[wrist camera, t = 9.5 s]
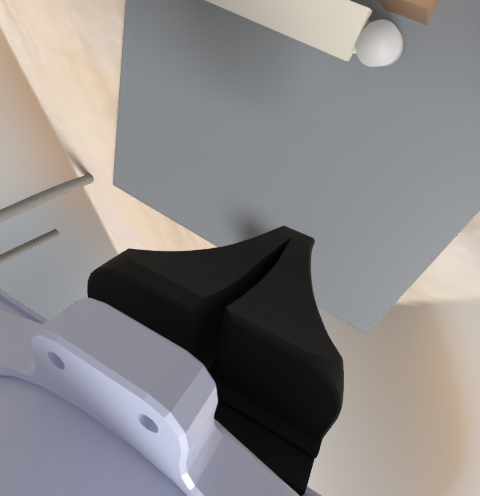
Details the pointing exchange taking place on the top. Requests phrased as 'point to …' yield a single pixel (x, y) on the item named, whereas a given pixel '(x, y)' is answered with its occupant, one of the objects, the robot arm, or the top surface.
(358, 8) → the gate
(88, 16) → the top surface
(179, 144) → the flat gray panel
